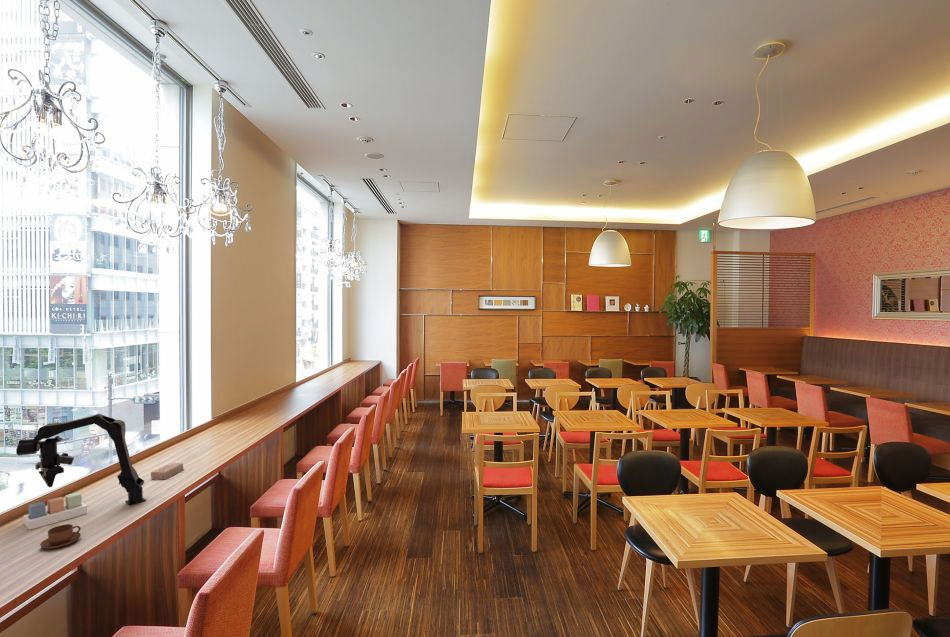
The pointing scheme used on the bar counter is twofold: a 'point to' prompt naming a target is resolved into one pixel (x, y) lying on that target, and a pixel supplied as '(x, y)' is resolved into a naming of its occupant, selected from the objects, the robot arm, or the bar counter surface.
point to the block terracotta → (55, 505)
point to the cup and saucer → (61, 536)
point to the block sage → (73, 500)
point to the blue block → (36, 510)
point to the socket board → (54, 517)
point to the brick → (167, 471)
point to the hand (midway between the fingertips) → (50, 486)
